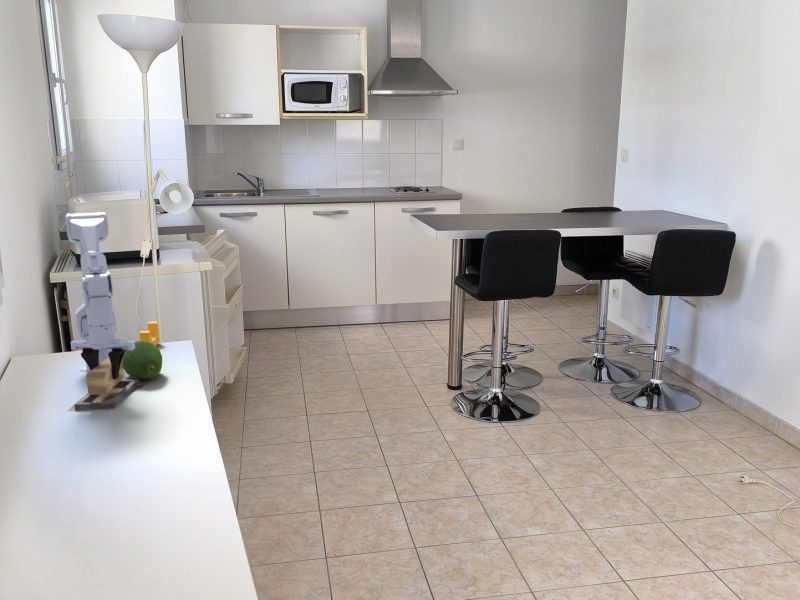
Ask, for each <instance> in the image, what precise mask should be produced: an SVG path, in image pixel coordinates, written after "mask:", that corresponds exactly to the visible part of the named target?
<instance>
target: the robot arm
mask: <svg viewBox="0 0 800 600" xmlns="http://www.w3.org/2000/svg"><path fill="white" fill-rule="evenodd" d="M107 215H108V214H107V213H105V212H104V211H101V212H88V213H87V212H86V213H66V215H65V218H64V219H65V227H66V235H67V240H68V241H69V242H70V243H73V244H76V245H77V247H78V248H79V252H80V261H79V262H80V268H81V274H82V277H81V280H80V281H81V291H82V297H83V300H84V302H83V303H82V304H81V305H80V306H79V307H77V308H76V310H75V322H76V323H75V325H76V331H77V332H76V333H77V336H78V337H79V338H80V339H78V340H77V339H74V340H72V341H70V349H71V351H77V350H82V352H80V357H81V358H82V359H83V360H84V362H85V366H83V367H82V368H80V372H90V371H91V370H92V369H94V368H95V367H96V366H97V365H99V364H100V363H101V362H102V361H104V360H105V359H106V358H109V359H110V362H111V367H112V377H113V379H117V378H118V377H119V370H120V365H121V361H122V358H123V356H124V354H125V351H126V350H133V349H134V348H135V342H136V341H135V339H133V340H129V339H121V338H116V332H117V322H116V315H115V310H114V307H113V299H112V297H113V296H114V285H113V279H112V276H111V273H110V270H109V269H108V264H107V259H106V255H105V254H104V253H102V252H100V243H101V242H104V241H106V240H107V238H108V235H109V222H108V216H107ZM81 338H82V339H81Z"/></svg>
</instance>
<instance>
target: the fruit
mask: <svg viewBox="0 0 800 600" xmlns="http://www.w3.org/2000/svg"><path fill="white" fill-rule="evenodd" d="M162 366H163V356H162V352H161V350H160V349H159V347H158V346H155V345H154V344H153V343H150V342H148V341H139V340H138V341H135V348H134V349H133V350H126V351H125V354H124V356H123V368H124V373H126V374H127V375H128V376H129V377H130V378H133V379H138V381H142V380H143V381H144V380H150V379H153V378H155V377H157V376H158V375H159V374H160V373H161V372H162V368H163V367H162Z"/></svg>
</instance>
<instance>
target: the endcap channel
mask: <svg viewBox="0 0 800 600" xmlns="http://www.w3.org/2000/svg"><path fill="white" fill-rule="evenodd" d="M145 385H146V384H145V383H140V384H139V380H138V379H135V378H133V379H128V378H127V379H125V378H123V379H122V380H121V381H120V382H119V383H118V384H117V385H115V386H114V387H113V388H112V389H111V390H110V391H109V392H108V393H107V394H106V395H88V392H87V393H86V394H84V395H83V396H82V397H81V398H80V399H79V400H77V402H75V404H73V405H71V407H70V408H69V409H68V410H67V412H75V411H87V410H89V411H90V410H91V411H92V410H93V411H94V410H113V409H114V408H116V407H117V406H118V405H119V404H120V403H121V402H122V401H123V400H125V399H126V398H127V397H128V395H130V394H132V393H137V392H139V391H140V390H141V389H143V388H144V386H145ZM109 400H110V401H109ZM108 401H109V402H108Z"/></svg>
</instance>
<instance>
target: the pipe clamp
mask: <svg viewBox="0 0 800 600" xmlns="http://www.w3.org/2000/svg"><path fill="white" fill-rule="evenodd" d="M138 341H148V342H150V343H153V344H154V345H155V346H156V347H158V346H157V345H159V343H160V333H159V321H148V322H147V330H140V331H139V340H138Z"/></svg>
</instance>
